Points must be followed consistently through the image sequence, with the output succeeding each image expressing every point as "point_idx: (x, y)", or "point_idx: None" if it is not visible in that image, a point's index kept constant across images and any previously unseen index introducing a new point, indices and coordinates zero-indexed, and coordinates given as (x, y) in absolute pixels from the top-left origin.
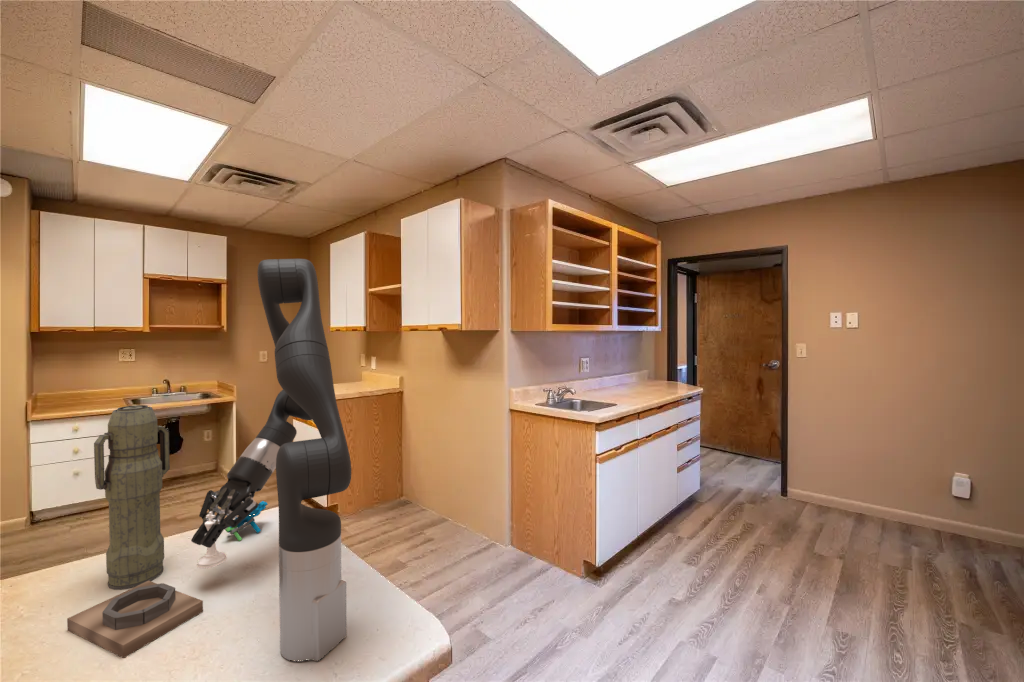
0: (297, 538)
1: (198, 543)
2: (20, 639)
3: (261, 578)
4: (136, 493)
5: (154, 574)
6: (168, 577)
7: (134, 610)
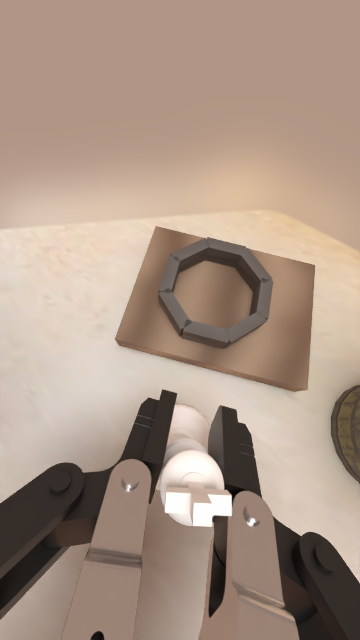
0: None
1: (213, 425)
2: (344, 253)
3: None
4: None
5: (340, 438)
6: (308, 449)
7: (225, 296)
